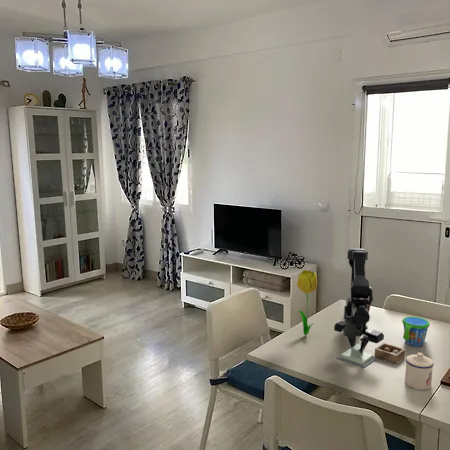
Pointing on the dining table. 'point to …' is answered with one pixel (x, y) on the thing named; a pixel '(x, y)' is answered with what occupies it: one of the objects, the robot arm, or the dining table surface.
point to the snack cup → (415, 330)
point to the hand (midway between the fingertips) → (357, 351)
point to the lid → (357, 355)
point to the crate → (390, 353)
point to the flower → (306, 285)
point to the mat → (358, 363)
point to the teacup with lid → (419, 371)
